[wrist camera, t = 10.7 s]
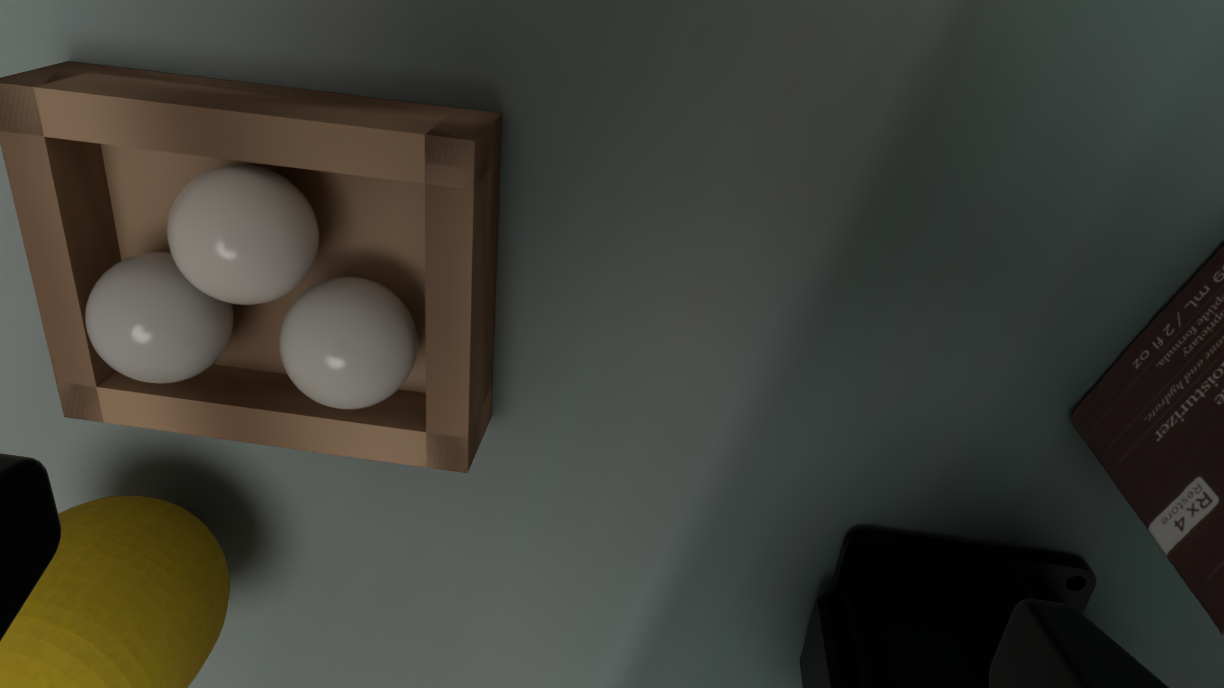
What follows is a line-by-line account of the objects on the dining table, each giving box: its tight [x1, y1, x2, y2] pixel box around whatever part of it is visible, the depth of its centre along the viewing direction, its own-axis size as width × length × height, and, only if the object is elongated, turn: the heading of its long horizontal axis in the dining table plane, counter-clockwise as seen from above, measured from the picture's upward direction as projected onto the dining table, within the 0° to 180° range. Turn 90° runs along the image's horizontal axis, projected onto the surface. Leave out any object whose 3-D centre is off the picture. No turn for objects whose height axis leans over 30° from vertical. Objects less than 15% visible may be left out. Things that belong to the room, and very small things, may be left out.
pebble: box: [85, 252, 234, 384], centre depth 20 cm, size 3×3×3 cm
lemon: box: [0, 495, 230, 688], centre depth 22 cm, size 6×6×8 cm
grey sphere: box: [279, 276, 418, 409], centre depth 20 cm, size 3×3×3 cm
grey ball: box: [167, 164, 319, 305], centre depth 19 cm, size 3×3×3 cm
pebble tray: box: [0, 61, 502, 473], centre depth 20 cm, size 10×8×2 cm
